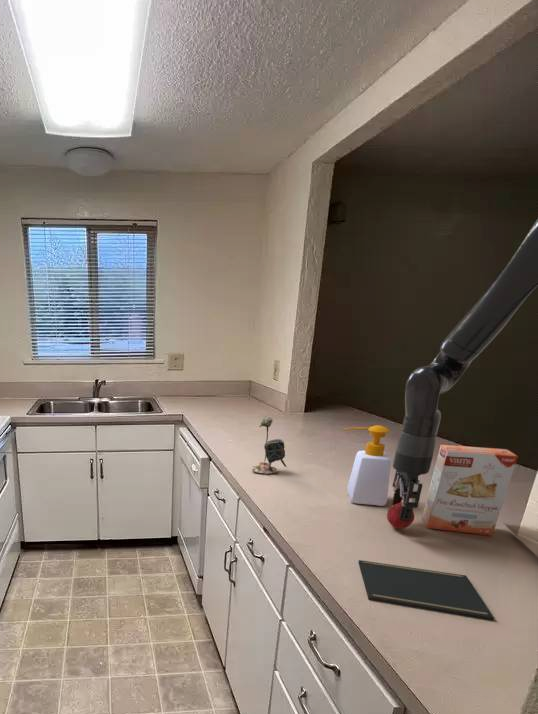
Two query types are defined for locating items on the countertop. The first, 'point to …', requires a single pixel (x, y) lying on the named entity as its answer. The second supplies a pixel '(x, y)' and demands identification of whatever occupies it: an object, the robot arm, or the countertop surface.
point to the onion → (394, 517)
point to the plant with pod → (270, 451)
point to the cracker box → (468, 488)
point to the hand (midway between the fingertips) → (400, 513)
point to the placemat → (423, 589)
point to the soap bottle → (370, 471)
